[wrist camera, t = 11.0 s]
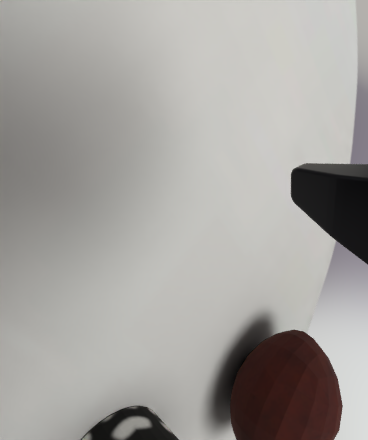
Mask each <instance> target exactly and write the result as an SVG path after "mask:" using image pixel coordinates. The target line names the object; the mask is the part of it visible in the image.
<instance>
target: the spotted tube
mask: <svg viewBox="0 0 368 440" xmlns="http://www.w3.org/2000/svg"><path fill="white" fill-rule="evenodd" d="M82 440H178V438H177V437H176V436H175V435H174V434H173V433H172V432H171V431H170V429H169V428H168V427H167V426H166V425H165V424H164V423H163V422H162V420H161V419H160V418H159V417H158V416H157V415H156V414H155V413H154V412H153V410H151V409H149V408H147V407H141V406H136V407H129V408H126V409H123V410H120V411H118V412H116V413H114V414H112V415H110V416H109V417H107V418H106V419H104V420H103V421H101V422H100V423H99V424H98V425H96V426H95V427H94V428H93V429H92V430H91V431H89V432H88V434H87V435H86V436H85V437H84V438H83V439H82Z"/></svg>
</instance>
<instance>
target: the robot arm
mask: <svg viewBox="0 0 368 440" xmlns="http://www.w3.org/2000/svg"><path fill="white" fill-rule="evenodd" d="M291 197H292V200H293V201H294V203H295V204H296V205H297V206H298V207H299V208H300V209H302V210H303V211H304V212H305V213H306V214H307V215H308V216H309V217H310V218H311V219H312V220H314V221H315V222H316V223H317V224H318V225H319V226H320V227H321V228H322V229H323V230H324V231H325V232H327V233H328V234H329V235H330V236H331V237H332V238H334V239H335V240H336V241H337V242H339V243H340V244H341V245H343V246H344V247H345V248H347V249H348V250H349V251H351V252H352V253H353V254H355V255H356V256H358V257H359V258H360V259H361V260H363V261H364V262H365V263H367V264H368V164H311V163H306V164H303V165H300V166H298V167H296V168H294V169H293V170H292V173H291Z"/></svg>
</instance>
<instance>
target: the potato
mask: <svg viewBox="0 0 368 440" xmlns="http://www.w3.org/2000/svg"><path fill="white" fill-rule="evenodd" d="M230 414H231V424H232V428H233V431H234V434H235V437H236V439H237V440H334V438H335V437H336V435H337V433H338V431H339V428H340V421H341V414H342V400H341V395H340V389H339V384H338V379H337V376H336V374H335V372H334V369H333V367H332V365H331V363H330V360H329V358H328V357H327V356H326V354H325V353H324V352H323V350H322V349H321V348H320V346H319V345H318V344H317V343H316V342H315V340H314V339H313V338H312V337H310V336H309V335H308V334H306V333H305V332H303V331H298V330H290V331H285V332H281V333H278V334H275V335H273V336H271V337H269V338H267V339H265V340H264V341H263V342H262V343H260V344H259V345H258V346H257V347H256V348H255V349H254V350H253V351H252V352H250V353H249V354H248V356H247V358H246V359H245V361H244V363H243V364H242V366H241V367H240V369H239V371H238V372H237V375H236V378H235V382H234V385H233V388H232V393H231V401H230Z"/></svg>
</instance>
